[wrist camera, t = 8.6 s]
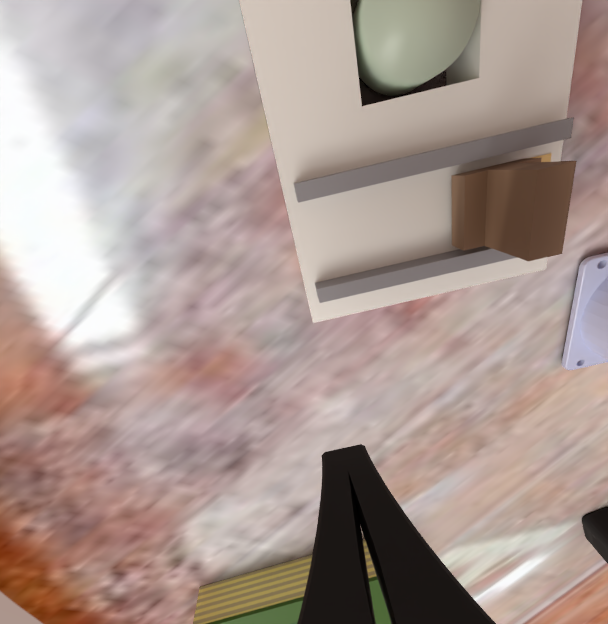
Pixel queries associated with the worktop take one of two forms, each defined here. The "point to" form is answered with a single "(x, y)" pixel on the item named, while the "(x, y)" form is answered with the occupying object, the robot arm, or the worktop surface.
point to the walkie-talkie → (597, 531)
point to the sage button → (409, 40)
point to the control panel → (403, 144)
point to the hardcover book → (270, 595)
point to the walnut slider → (513, 207)
